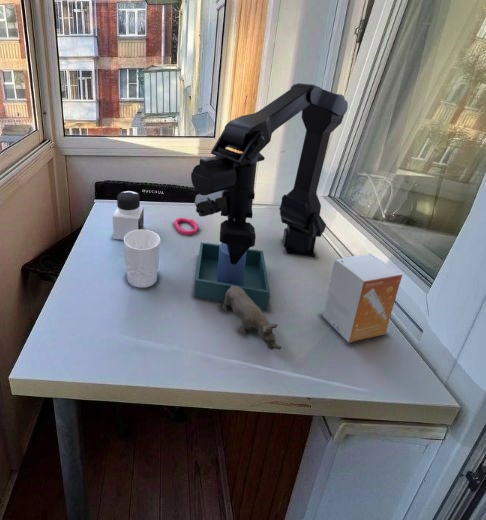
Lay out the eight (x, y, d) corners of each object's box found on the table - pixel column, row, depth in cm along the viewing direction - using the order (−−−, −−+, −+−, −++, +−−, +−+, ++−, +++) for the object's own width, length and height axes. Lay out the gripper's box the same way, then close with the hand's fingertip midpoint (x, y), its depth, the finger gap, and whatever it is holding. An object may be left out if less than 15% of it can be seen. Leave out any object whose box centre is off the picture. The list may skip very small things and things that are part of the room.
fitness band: (201, 234, 91) (201, 229, 91) (181, 236, 90) (181, 232, 90) (190, 220, 99) (190, 215, 99) (171, 222, 98) (171, 217, 97)
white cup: (164, 272, 76) (165, 234, 73) (151, 294, 69) (152, 253, 66) (133, 263, 79) (133, 226, 76) (118, 283, 72) (117, 244, 69)
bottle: (242, 273, 75) (247, 231, 72) (243, 290, 70) (248, 246, 67) (217, 269, 76) (220, 228, 73) (216, 286, 71) (220, 242, 68)
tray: (260, 266, 78) (262, 250, 77) (267, 310, 65) (270, 292, 64) (199, 257, 82) (200, 241, 80) (194, 297, 68) (195, 280, 67)
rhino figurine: (268, 367, 54) (272, 337, 52) (217, 307, 66) (220, 282, 64) (287, 358, 55) (292, 329, 53) (234, 302, 67) (237, 277, 65)
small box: (348, 344, 58) (363, 281, 54) (321, 316, 63) (333, 258, 60) (386, 335, 59) (403, 274, 55) (356, 309, 65) (370, 252, 61)
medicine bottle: (138, 242, 88) (138, 201, 84) (112, 239, 89) (111, 198, 86) (143, 228, 95) (143, 189, 91) (119, 225, 96) (118, 187, 92)
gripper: (201, 164, 77) (198, 224, 82) (194, 199, 60) (190, 272, 64) (252, 168, 74) (245, 230, 79) (259, 206, 57) (250, 281, 62)
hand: (232, 250), depth 71 cm, fingers open, 9 cm apart
